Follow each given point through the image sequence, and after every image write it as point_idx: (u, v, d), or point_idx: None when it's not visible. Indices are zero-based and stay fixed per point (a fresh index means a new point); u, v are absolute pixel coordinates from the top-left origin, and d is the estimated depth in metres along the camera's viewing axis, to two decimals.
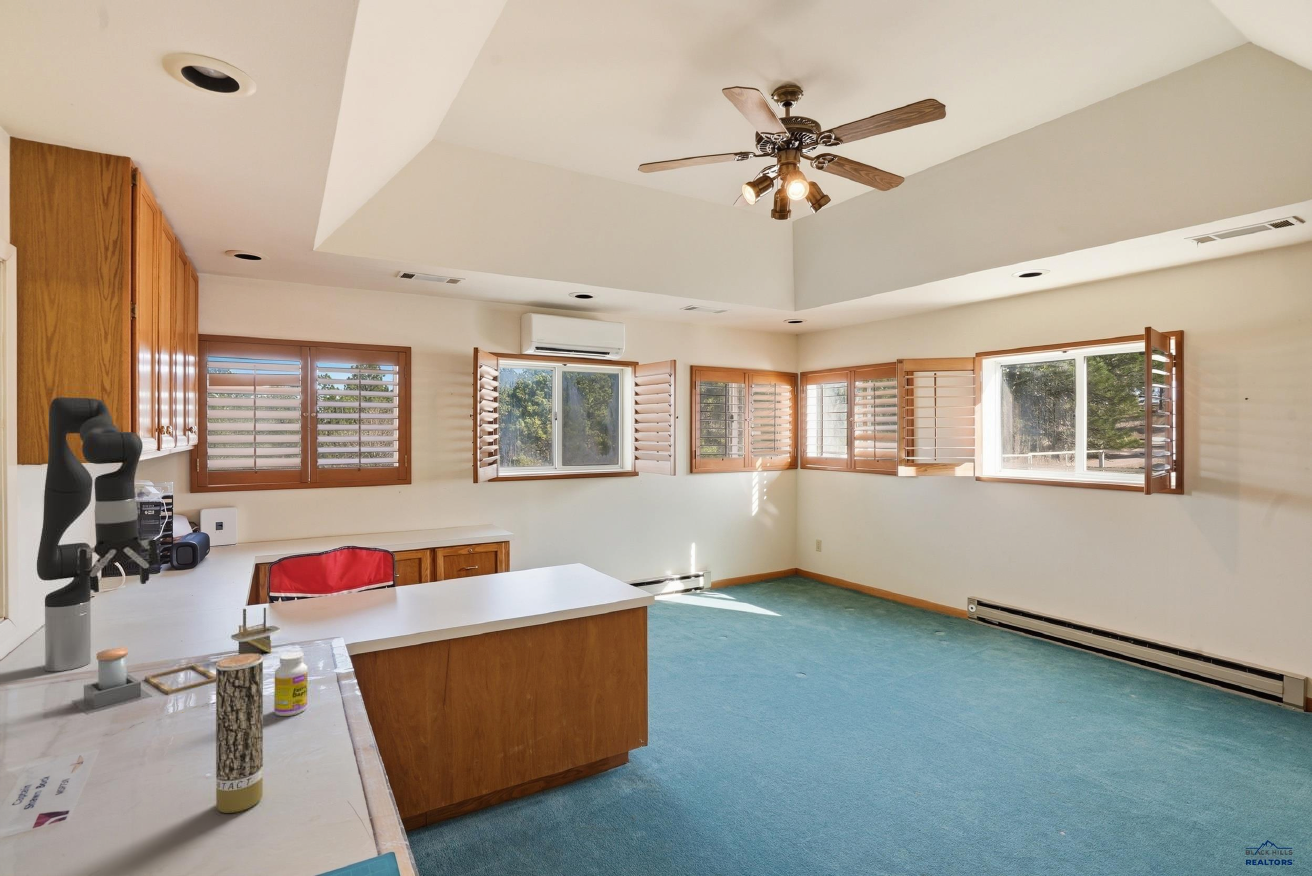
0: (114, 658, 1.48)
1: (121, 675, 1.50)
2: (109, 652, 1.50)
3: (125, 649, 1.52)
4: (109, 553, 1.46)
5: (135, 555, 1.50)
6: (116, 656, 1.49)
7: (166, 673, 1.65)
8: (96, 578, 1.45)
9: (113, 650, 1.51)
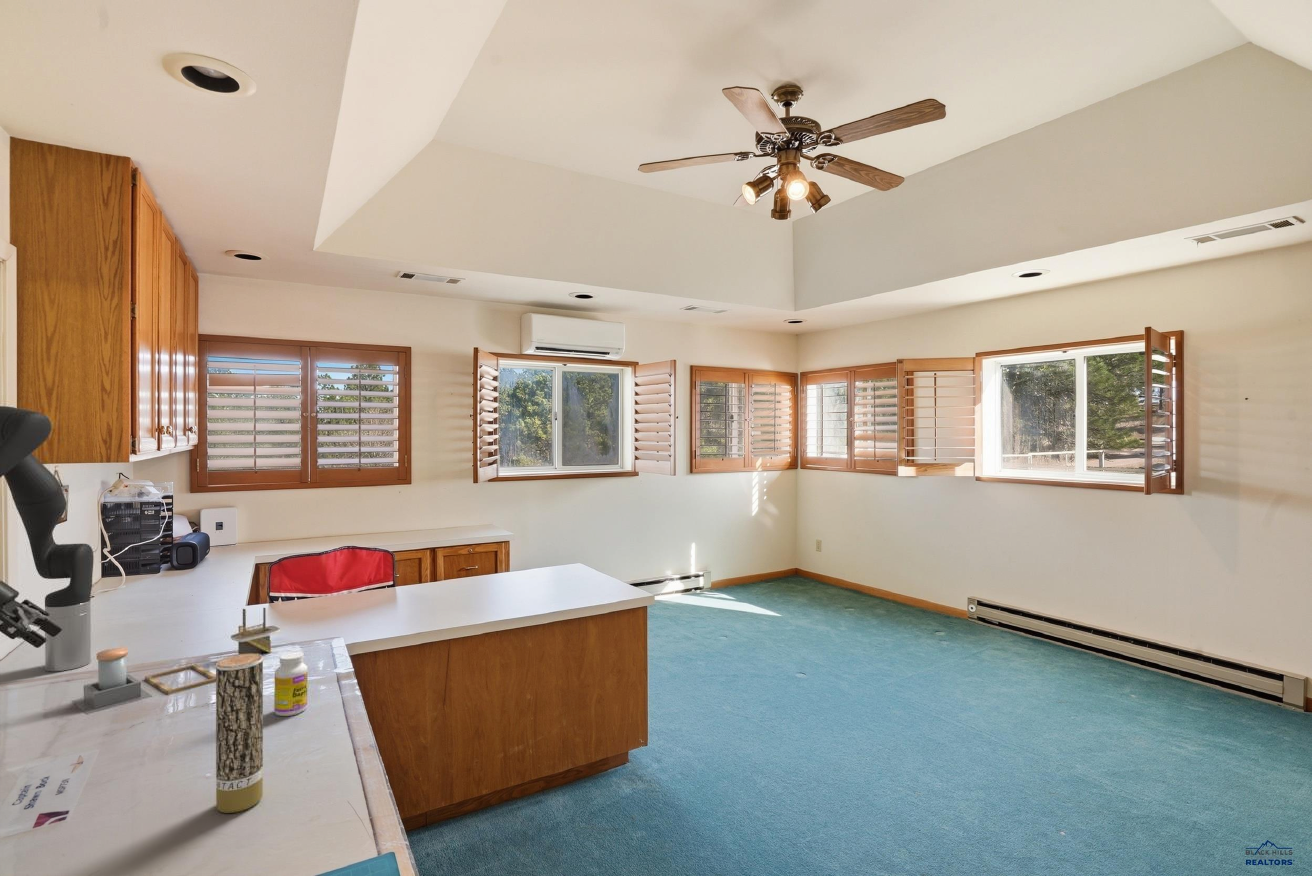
0: (114, 658, 1.48)
1: (121, 675, 1.50)
2: (109, 652, 1.50)
3: (125, 649, 1.52)
4: None
5: None
6: (116, 656, 1.49)
7: (166, 673, 1.65)
8: None
9: (113, 650, 1.51)
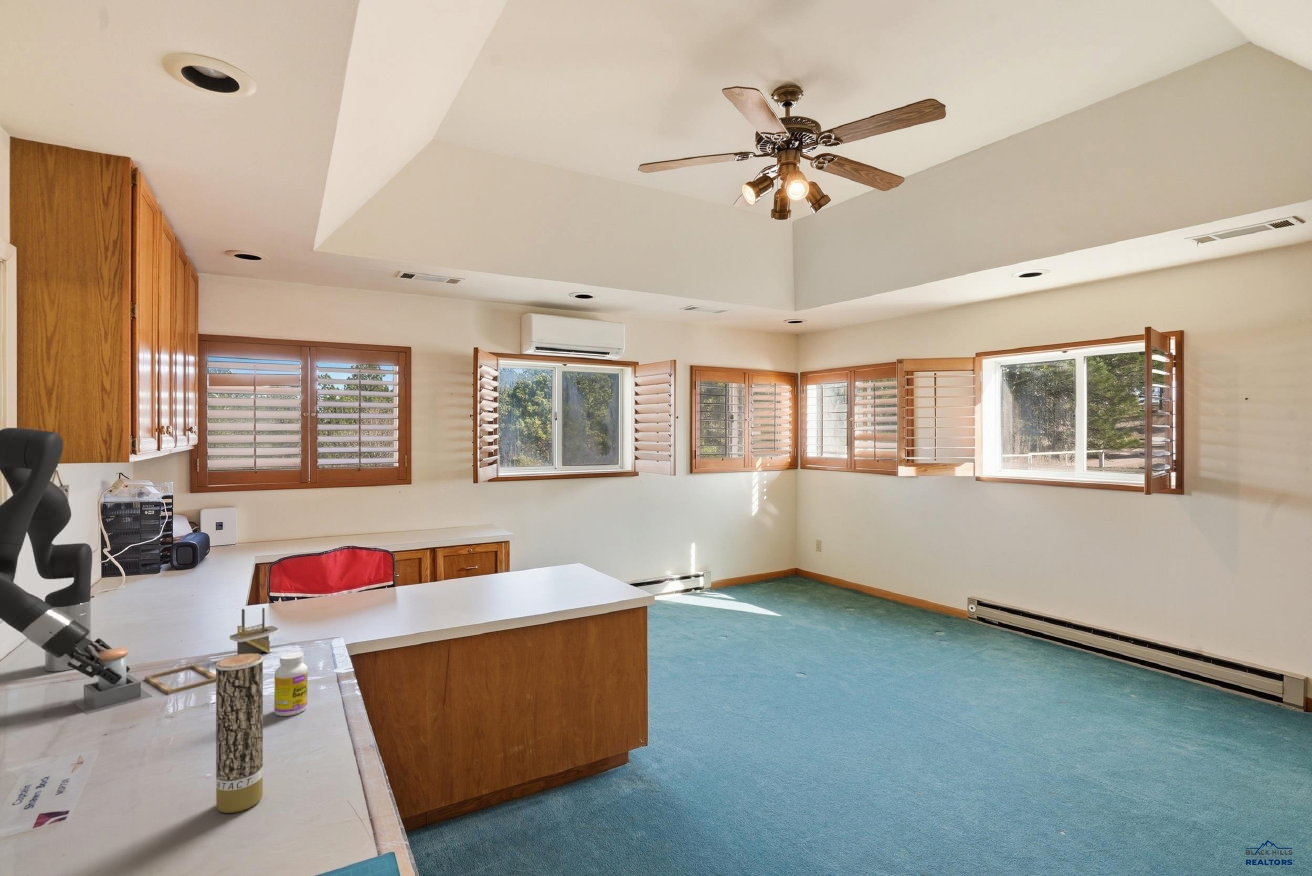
0: (114, 658, 1.48)
1: (121, 675, 1.50)
2: (109, 652, 1.50)
3: (125, 649, 1.52)
4: None
5: None
6: (116, 656, 1.49)
7: (166, 673, 1.65)
8: None
9: (113, 650, 1.51)
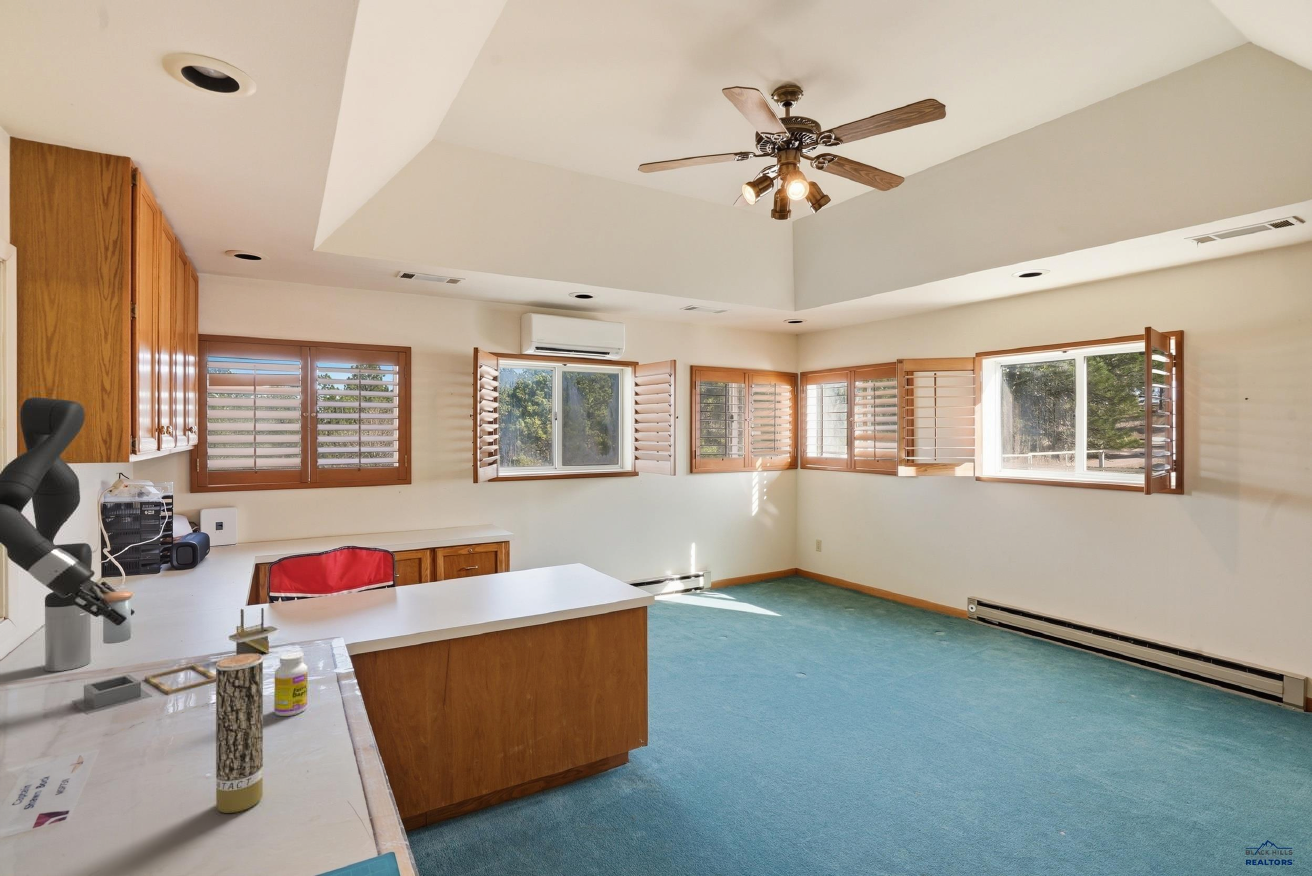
0: (119, 599, 1.49)
1: (125, 616, 1.50)
2: (114, 593, 1.51)
3: (130, 592, 1.53)
4: None
5: None
6: (121, 597, 1.49)
7: (166, 673, 1.65)
8: None
9: (118, 592, 1.52)
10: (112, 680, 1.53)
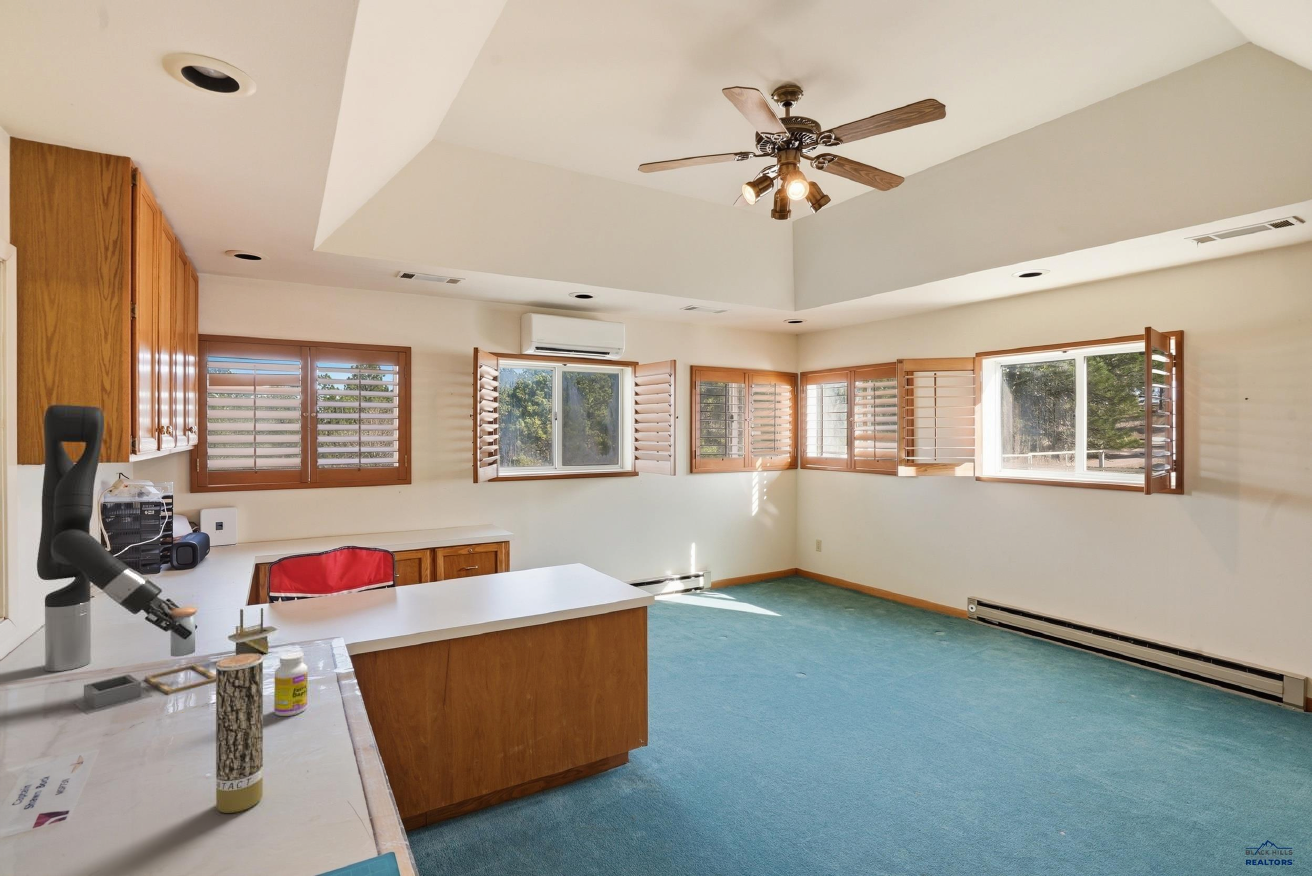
0: (185, 615, 1.60)
1: None
2: (180, 609, 1.61)
3: (194, 607, 1.63)
4: None
5: None
6: (187, 613, 1.60)
7: (166, 673, 1.65)
8: None
9: (183, 608, 1.62)
10: (112, 680, 1.53)
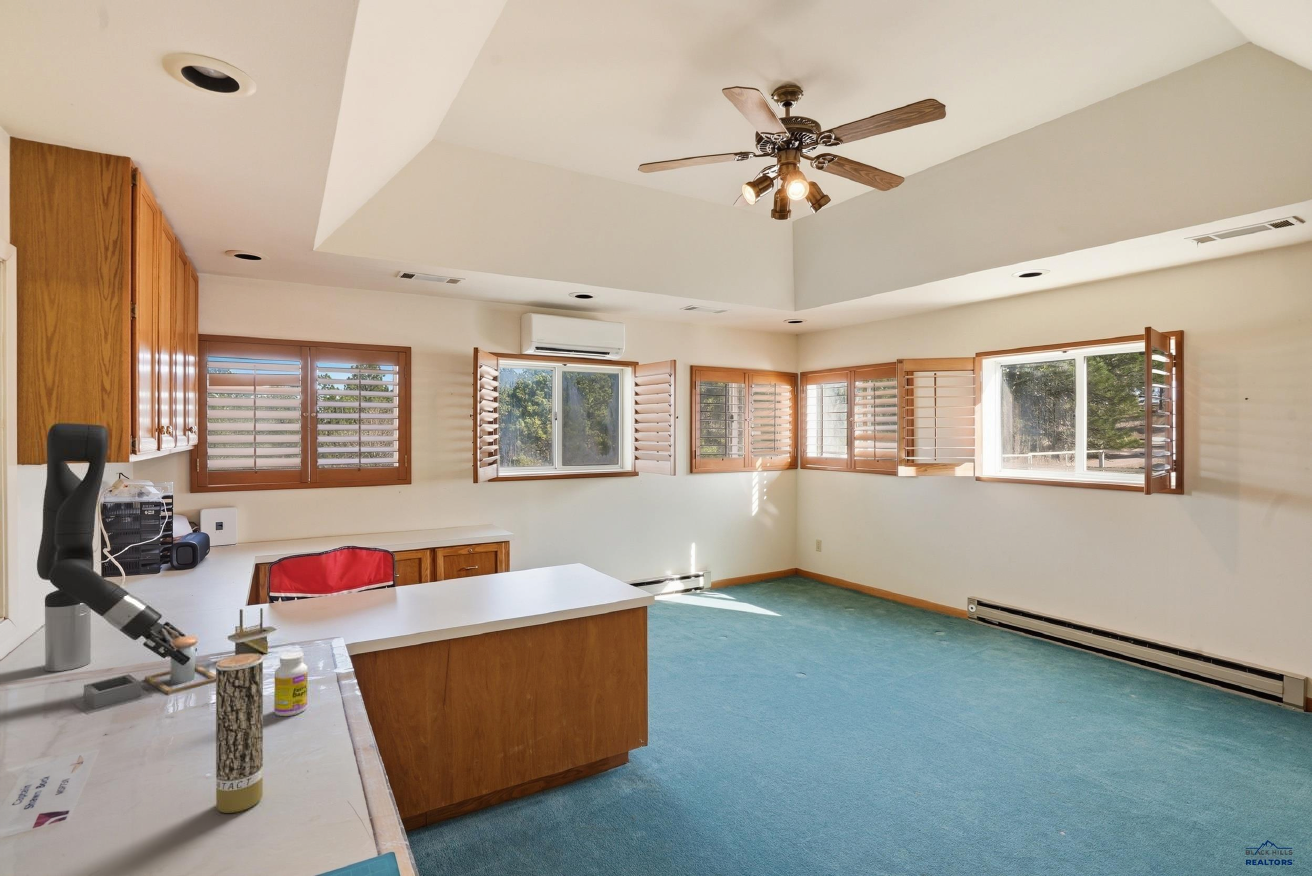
0: (186, 646, 1.60)
1: (191, 661, 1.61)
2: (181, 639, 1.61)
3: (195, 637, 1.63)
4: None
5: None
6: (188, 644, 1.60)
7: (166, 673, 1.65)
8: None
9: (184, 638, 1.62)
10: (112, 680, 1.53)
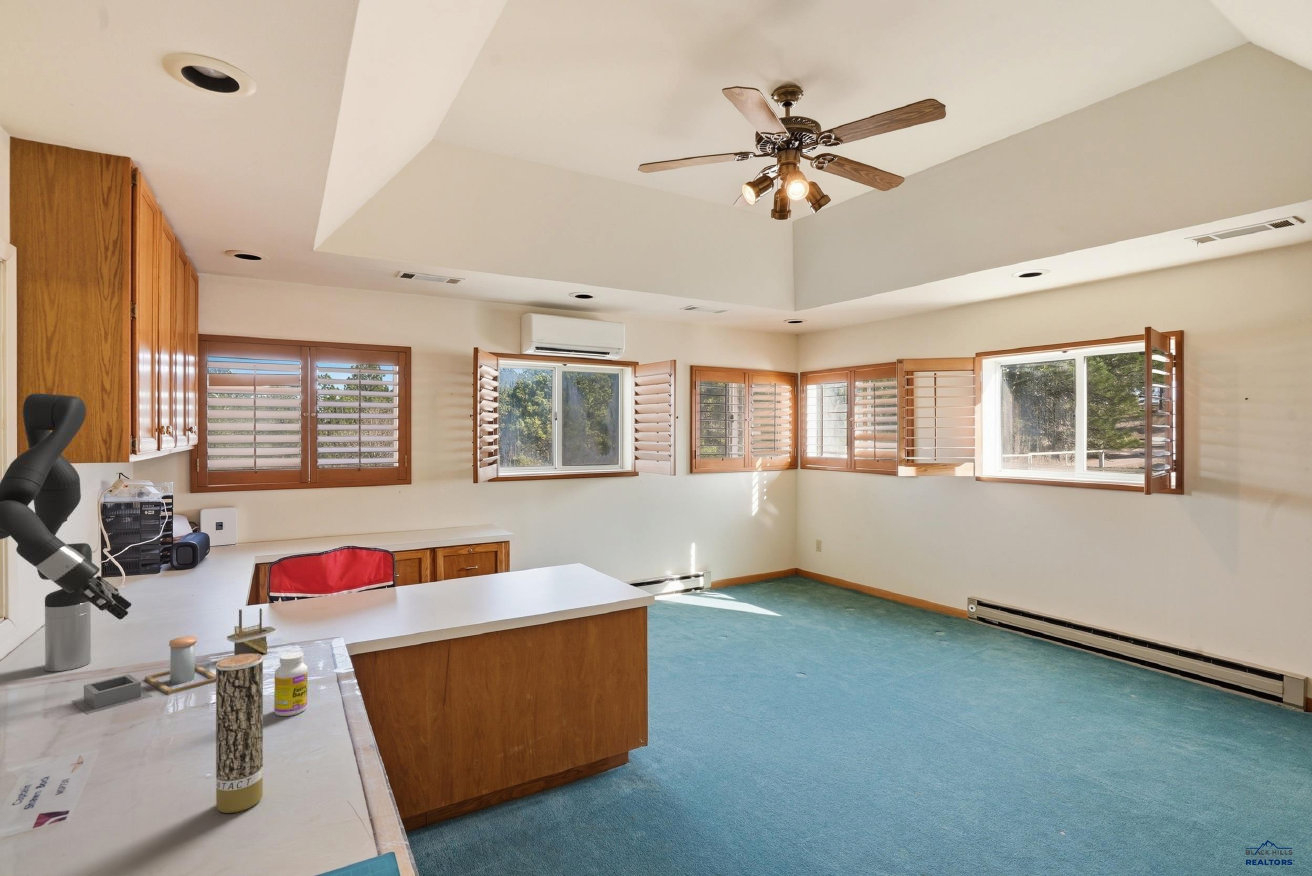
0: (185, 645, 1.60)
1: (191, 661, 1.61)
2: (180, 639, 1.62)
3: (194, 637, 1.63)
4: None
5: None
6: (187, 644, 1.60)
7: (166, 673, 1.65)
8: None
9: (183, 638, 1.63)
10: (112, 680, 1.53)
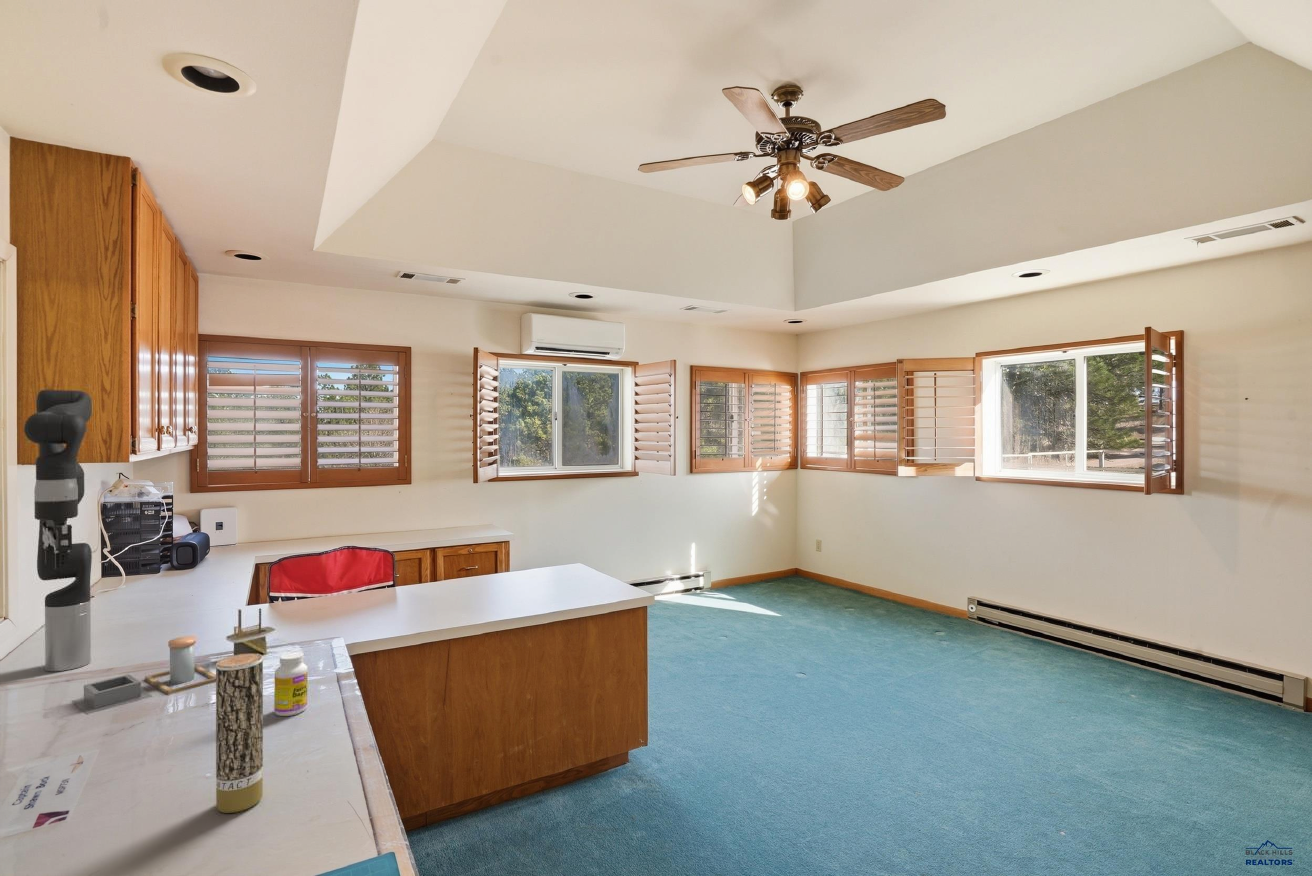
0: (184, 646, 1.60)
1: (190, 661, 1.61)
2: (179, 640, 1.61)
3: (193, 638, 1.63)
4: (43, 530, 1.51)
5: (50, 537, 1.49)
6: (186, 644, 1.60)
7: (166, 673, 1.65)
8: (45, 551, 1.53)
9: (183, 638, 1.62)
10: (112, 680, 1.53)
